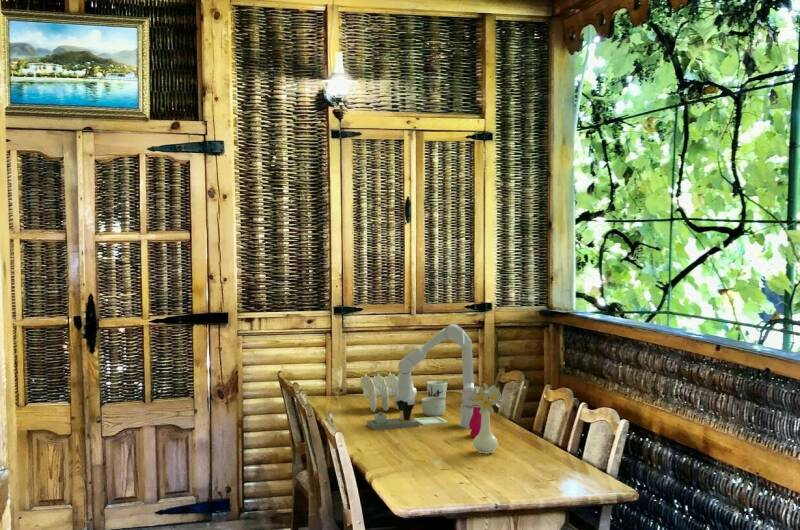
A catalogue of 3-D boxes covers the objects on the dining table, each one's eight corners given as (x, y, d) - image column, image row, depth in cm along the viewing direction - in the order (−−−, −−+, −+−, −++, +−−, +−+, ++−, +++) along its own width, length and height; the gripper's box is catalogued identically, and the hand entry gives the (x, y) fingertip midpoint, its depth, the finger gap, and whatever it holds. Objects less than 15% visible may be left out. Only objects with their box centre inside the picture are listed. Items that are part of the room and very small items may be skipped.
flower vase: (474, 459, 308) (474, 390, 308) (465, 447, 327) (465, 382, 326) (509, 458, 310) (509, 389, 309) (498, 446, 328) (498, 381, 327)
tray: (448, 424, 367) (448, 421, 367) (422, 426, 364) (422, 423, 364) (438, 419, 378) (438, 416, 378) (413, 421, 375) (413, 418, 375)
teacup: (436, 419, 379) (436, 401, 379) (416, 416, 385) (416, 398, 385) (453, 414, 390) (453, 396, 390) (434, 411, 397) (434, 394, 396)
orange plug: (411, 423, 364) (411, 409, 364) (402, 424, 363) (402, 410, 362) (408, 421, 368) (408, 407, 367) (399, 422, 366) (399, 408, 366)
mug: (423, 404, 415) (423, 383, 414) (431, 398, 429) (431, 378, 429) (444, 405, 412) (444, 384, 411) (451, 399, 426) (451, 379, 426)
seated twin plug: (386, 427, 360) (386, 413, 360) (377, 428, 359) (377, 413, 359) (383, 425, 364) (383, 411, 364) (374, 426, 363) (374, 412, 363)
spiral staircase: (417, 419, 399) (366, 420, 390) (405, 396, 414) (356, 397, 405) (425, 386, 391) (373, 386, 383) (413, 365, 406) (363, 365, 398)
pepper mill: (486, 438, 341) (486, 388, 341) (468, 437, 343) (468, 388, 342) (487, 434, 348) (487, 385, 348) (470, 433, 350) (470, 385, 349)
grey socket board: (419, 427, 362) (419, 421, 362) (373, 430, 355) (373, 425, 355) (411, 422, 371) (411, 417, 371) (367, 426, 365) (366, 420, 365)
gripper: (390, 385, 370) (390, 416, 371) (401, 390, 356) (401, 422, 357) (406, 384, 372) (406, 415, 373) (417, 389, 359) (417, 421, 359)
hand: (405, 418), depth 365 cm, fingers closed on orange plug, 4 cm apart
